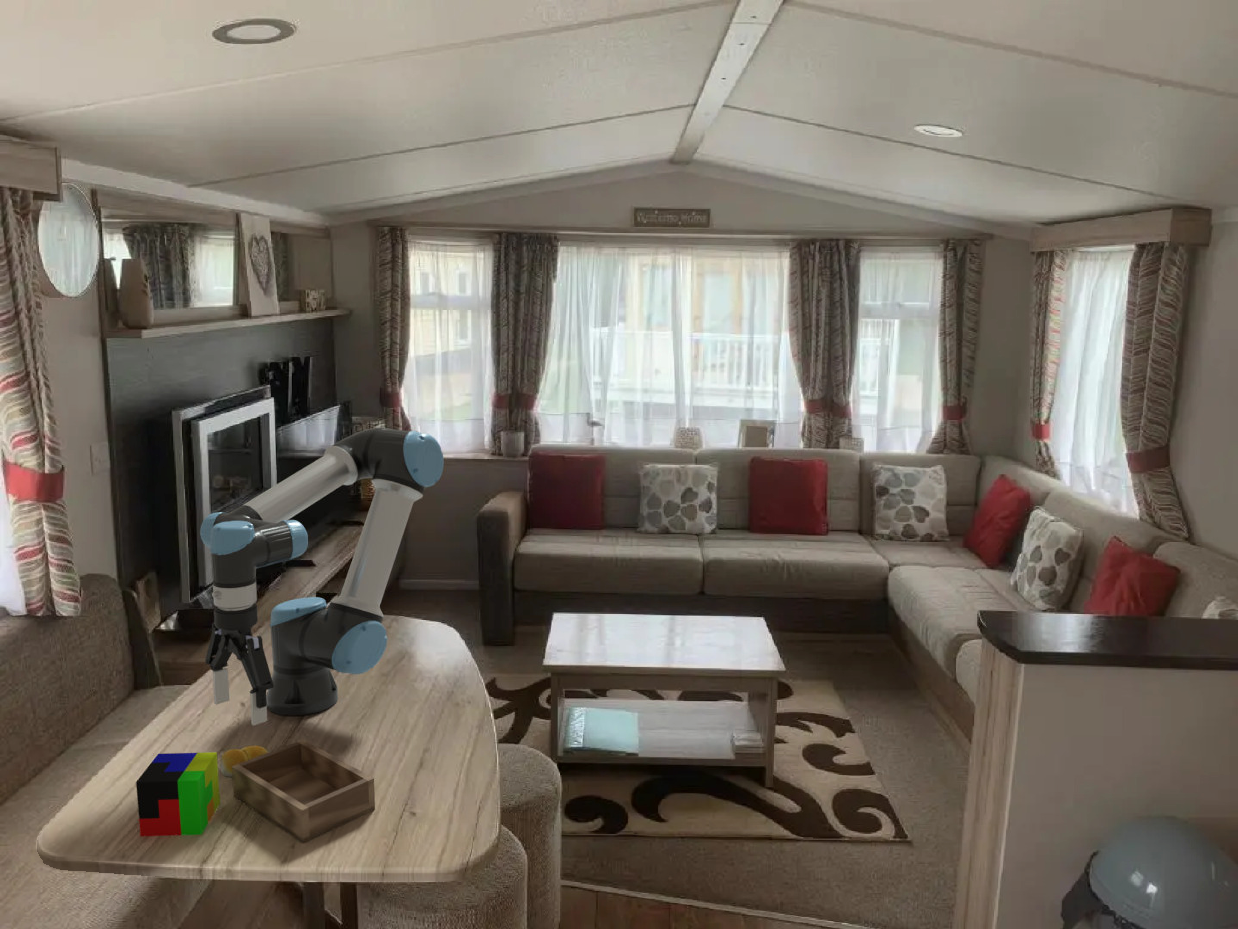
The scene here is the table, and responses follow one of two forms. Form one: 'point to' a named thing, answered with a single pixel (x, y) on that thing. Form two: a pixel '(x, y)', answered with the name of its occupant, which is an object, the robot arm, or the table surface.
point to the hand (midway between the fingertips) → (240, 712)
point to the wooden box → (303, 789)
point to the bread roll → (239, 758)
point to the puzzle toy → (178, 794)
